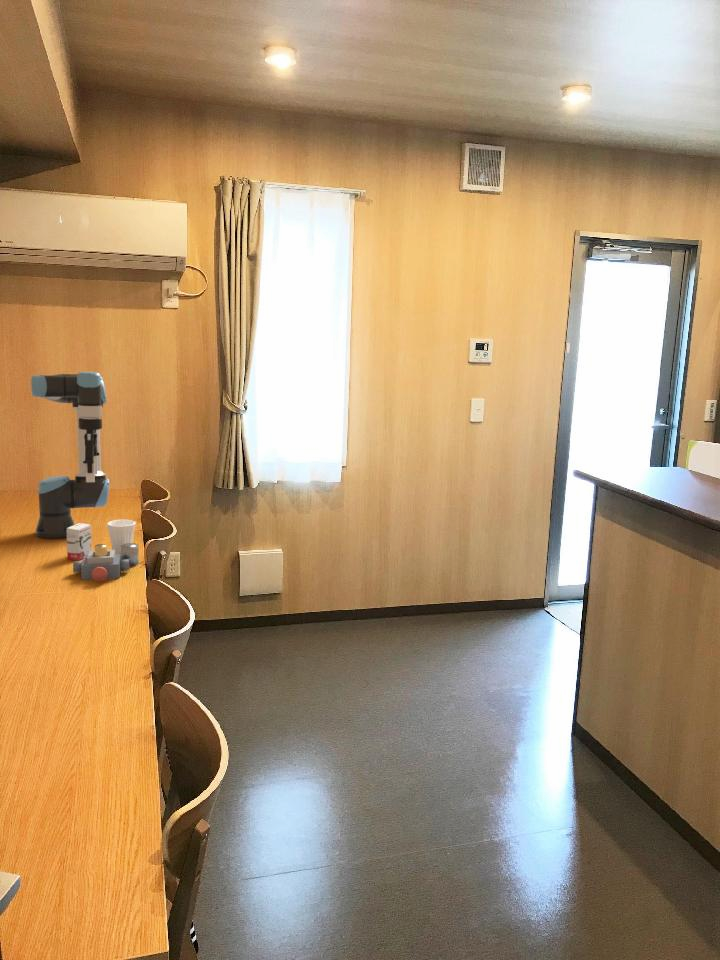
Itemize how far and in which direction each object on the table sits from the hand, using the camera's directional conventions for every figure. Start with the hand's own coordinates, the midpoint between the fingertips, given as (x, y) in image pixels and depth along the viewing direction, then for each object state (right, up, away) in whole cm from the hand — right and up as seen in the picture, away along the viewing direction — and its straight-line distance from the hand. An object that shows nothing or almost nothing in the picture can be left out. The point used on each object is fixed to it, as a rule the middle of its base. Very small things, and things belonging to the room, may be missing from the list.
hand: (92, 478), depth 247 cm
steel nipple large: (+10, -31, +9) cm, 34 cm away
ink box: (-10, -29, +14) cm, 34 cm away
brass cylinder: (+4, -32, -2) cm, 32 cm away
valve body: (+5, -33, -4) cm, 34 cm away
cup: (+5, -29, +16) cm, 34 cm away
